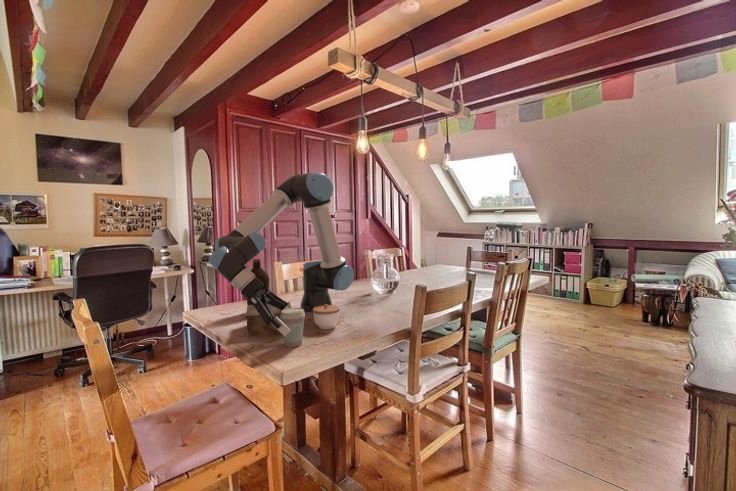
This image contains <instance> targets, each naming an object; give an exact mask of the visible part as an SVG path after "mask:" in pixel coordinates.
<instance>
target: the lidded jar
mask: <svg viewBox="0 0 736 491" xmlns="http://www.w3.org/2000/svg"><path fill="white" fill-rule="evenodd" d="M340 308H341V307H339V306H338V305H335V304H334V305H333V304H332V305H327V304H325V305H321V306H316V307H314V308H313V311H312V316H313V317H312V318H313V322H314V323H315V325H316V326H317V327H318V329H320V330H332V329H334V328H335V326H336V325H337V324H338V323H339V319H340Z"/></svg>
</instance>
